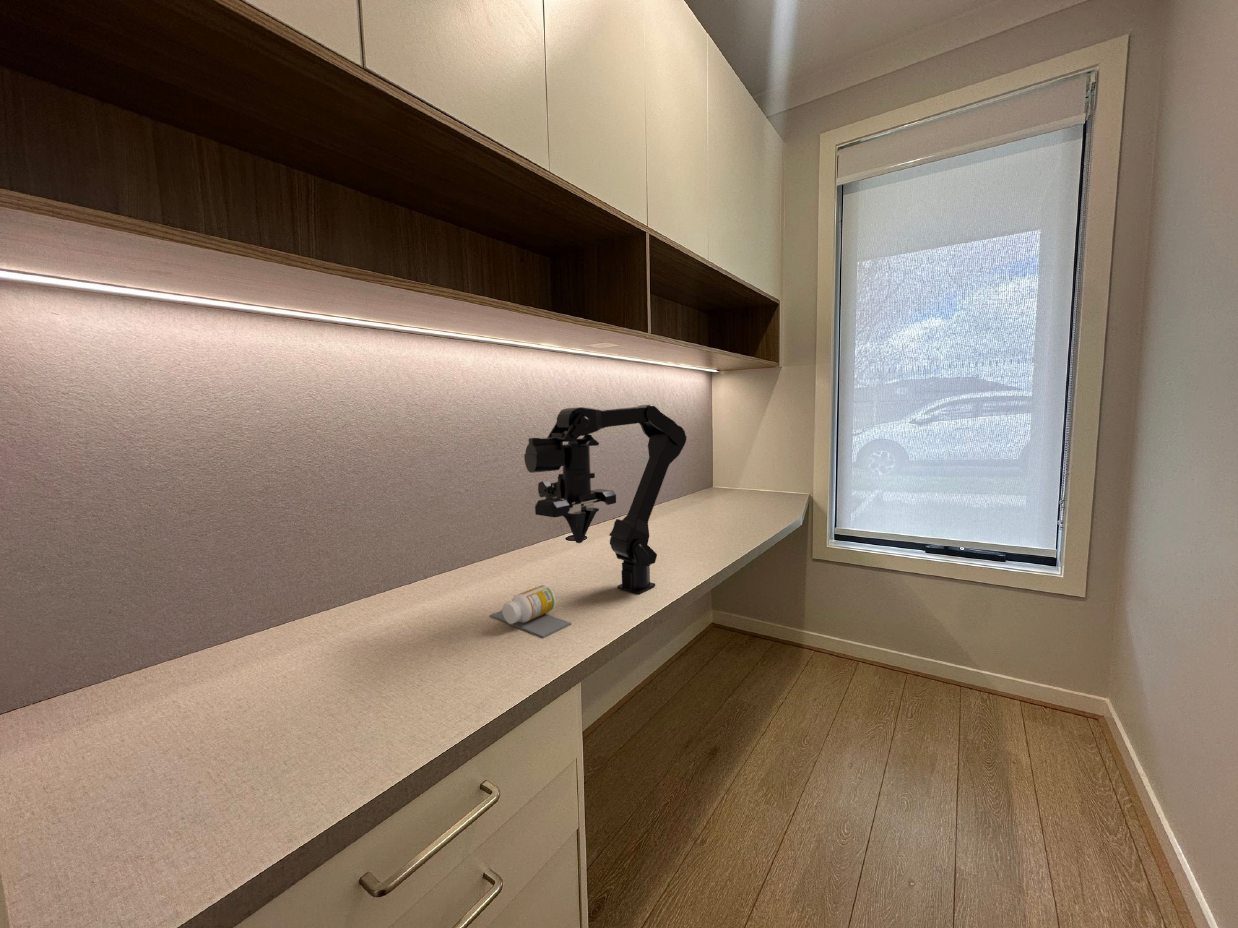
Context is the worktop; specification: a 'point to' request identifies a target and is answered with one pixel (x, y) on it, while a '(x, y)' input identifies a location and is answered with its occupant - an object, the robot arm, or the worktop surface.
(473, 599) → the worktop surface
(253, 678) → the worktop surface
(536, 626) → the mat
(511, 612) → the supplement bottle
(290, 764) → the worktop surface
